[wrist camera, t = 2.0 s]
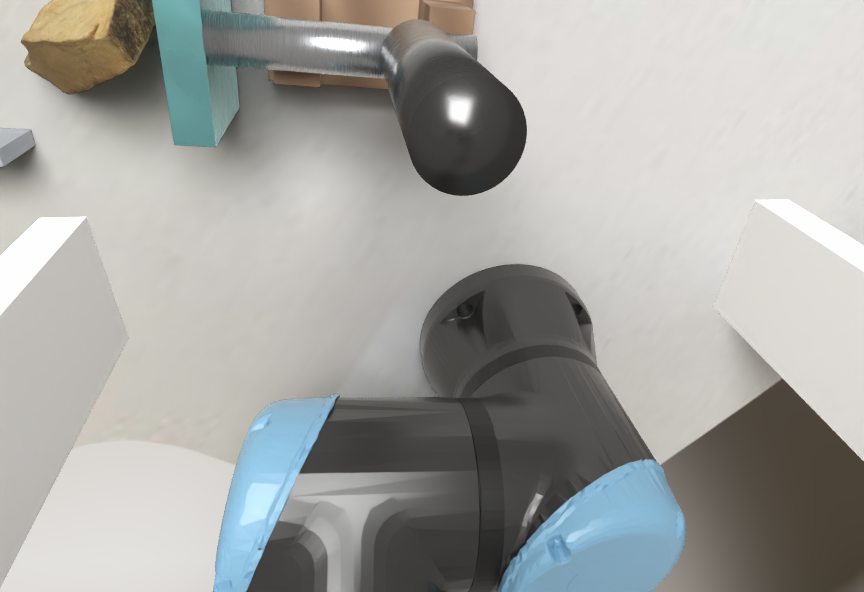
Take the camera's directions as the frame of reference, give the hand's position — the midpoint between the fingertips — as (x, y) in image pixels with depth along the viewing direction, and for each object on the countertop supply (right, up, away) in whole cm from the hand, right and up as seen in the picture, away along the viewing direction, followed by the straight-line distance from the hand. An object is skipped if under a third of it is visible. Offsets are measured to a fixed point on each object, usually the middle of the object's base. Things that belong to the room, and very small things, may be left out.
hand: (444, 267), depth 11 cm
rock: (-20, +16, +20) cm, 33 cm away
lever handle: (-7, +16, +22) cm, 27 cm away
